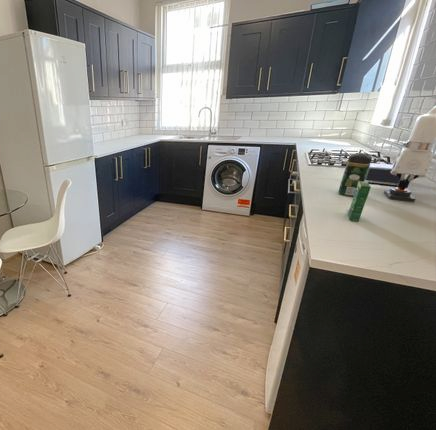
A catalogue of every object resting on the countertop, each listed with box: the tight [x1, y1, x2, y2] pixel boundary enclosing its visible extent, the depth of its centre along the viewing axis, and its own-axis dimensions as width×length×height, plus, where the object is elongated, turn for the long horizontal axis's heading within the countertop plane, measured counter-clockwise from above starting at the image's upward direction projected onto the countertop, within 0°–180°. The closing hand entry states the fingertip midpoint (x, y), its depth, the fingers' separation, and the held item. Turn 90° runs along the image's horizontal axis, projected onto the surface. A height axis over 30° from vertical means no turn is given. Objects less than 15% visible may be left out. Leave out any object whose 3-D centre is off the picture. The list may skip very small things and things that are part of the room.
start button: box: [395, 187, 408, 192], centre depth 122 cm, size 4×4×2 cm
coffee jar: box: [338, 152, 373, 197], centre depth 125 cm, size 10×8×19 cm
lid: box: [369, 162, 394, 170], centre depth 142 cm, size 14×12×1 cm
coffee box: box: [347, 181, 372, 222], centre depth 100 cm, size 8×3×13 cm, turn 145°
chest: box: [364, 168, 400, 188], centre depth 144 cm, size 14×12×8 cm
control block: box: [383, 187, 416, 203], centre depth 123 cm, size 10×8×4 cm
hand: (401, 188), depth 122 cm, fingers closed
